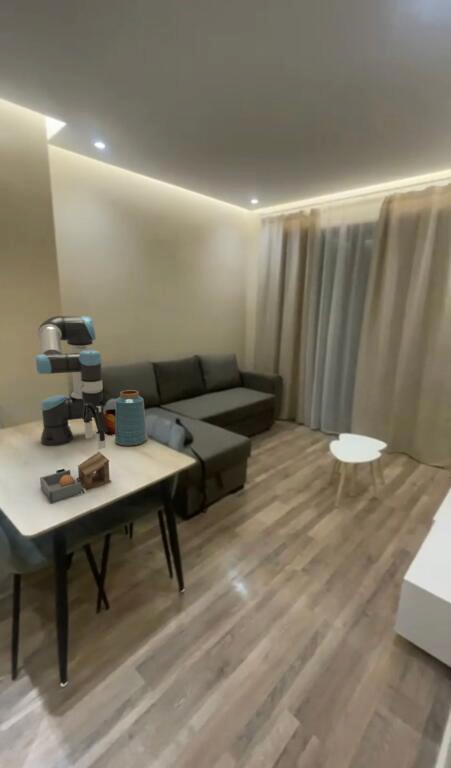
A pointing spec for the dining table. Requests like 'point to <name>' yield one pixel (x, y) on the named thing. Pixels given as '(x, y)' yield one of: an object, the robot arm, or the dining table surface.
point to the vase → (130, 419)
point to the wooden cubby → (90, 466)
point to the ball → (66, 480)
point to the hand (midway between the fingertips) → (95, 442)
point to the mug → (110, 421)
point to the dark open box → (60, 470)
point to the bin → (59, 487)
